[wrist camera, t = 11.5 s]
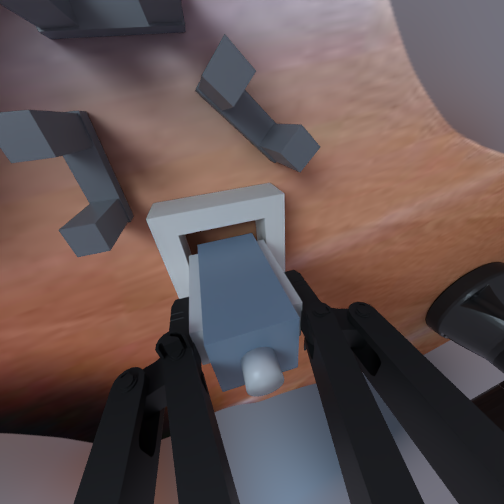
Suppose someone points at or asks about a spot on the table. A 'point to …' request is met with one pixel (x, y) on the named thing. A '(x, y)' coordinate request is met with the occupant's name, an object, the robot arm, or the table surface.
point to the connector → (245, 316)
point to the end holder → (215, 224)
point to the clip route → (81, 129)
